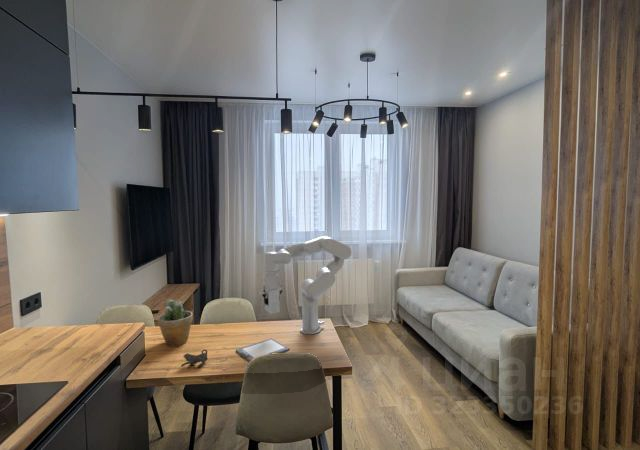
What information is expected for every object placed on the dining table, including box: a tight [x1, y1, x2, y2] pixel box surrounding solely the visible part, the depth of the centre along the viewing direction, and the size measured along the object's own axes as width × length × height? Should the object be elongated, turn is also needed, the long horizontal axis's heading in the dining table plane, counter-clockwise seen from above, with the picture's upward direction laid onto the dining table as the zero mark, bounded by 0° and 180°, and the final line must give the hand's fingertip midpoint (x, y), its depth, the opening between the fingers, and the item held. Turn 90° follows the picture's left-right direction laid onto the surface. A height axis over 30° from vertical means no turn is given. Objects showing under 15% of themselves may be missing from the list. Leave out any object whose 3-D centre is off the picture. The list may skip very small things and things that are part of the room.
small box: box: [264, 289, 281, 314], centre depth 198 cm, size 8×6×13 cm
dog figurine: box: [180, 349, 209, 368], centre depth 165 cm, size 12×6×7 cm, turn 101°
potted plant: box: [157, 299, 193, 347], centre depth 192 cm, size 18×19×25 cm
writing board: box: [235, 337, 290, 362], centre depth 180 cm, size 22×18×2 cm
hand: (272, 302), depth 198 cm, fingers closed on small box, 6 cm apart
